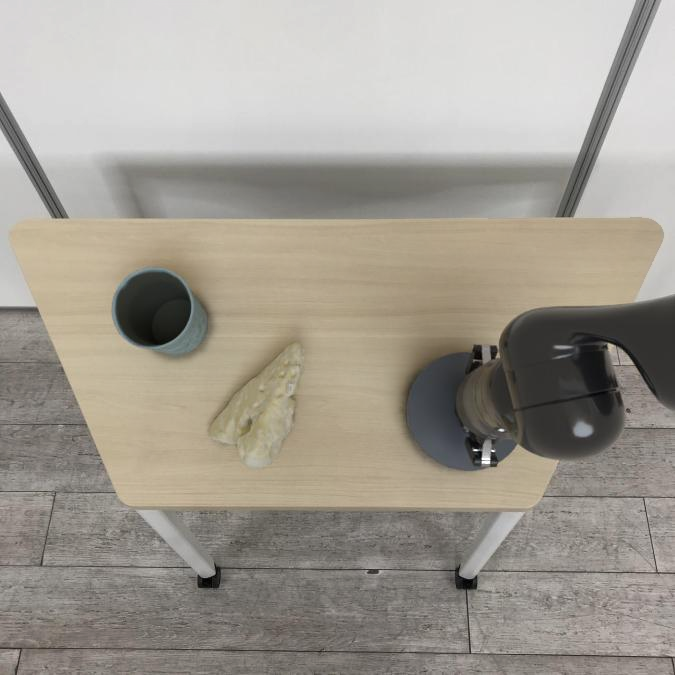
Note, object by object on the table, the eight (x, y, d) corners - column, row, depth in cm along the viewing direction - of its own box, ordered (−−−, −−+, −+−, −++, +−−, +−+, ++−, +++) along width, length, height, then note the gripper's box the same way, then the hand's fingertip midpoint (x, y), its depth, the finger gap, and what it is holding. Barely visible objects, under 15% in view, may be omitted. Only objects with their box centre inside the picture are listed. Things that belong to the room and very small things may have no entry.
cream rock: (240, 482, 84) (321, 472, 75) (198, 467, 79) (278, 454, 70) (259, 380, 91) (335, 359, 82) (221, 361, 86) (297, 336, 77)
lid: (523, 355, 79) (540, 346, 72) (524, 473, 76) (541, 476, 69) (407, 351, 79) (413, 341, 72) (405, 467, 76) (410, 470, 69)
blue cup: (163, 280, 87) (134, 254, 75) (227, 307, 86) (207, 286, 74) (131, 344, 86) (96, 328, 74) (196, 373, 85) (170, 361, 73)
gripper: (543, 476, 57) (499, 469, 74) (541, 328, 59) (499, 354, 76) (462, 473, 57) (437, 466, 74) (463, 325, 60) (438, 352, 77)
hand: (468, 409), depth 75 cm, fingers closed on lid, 3 cm apart
